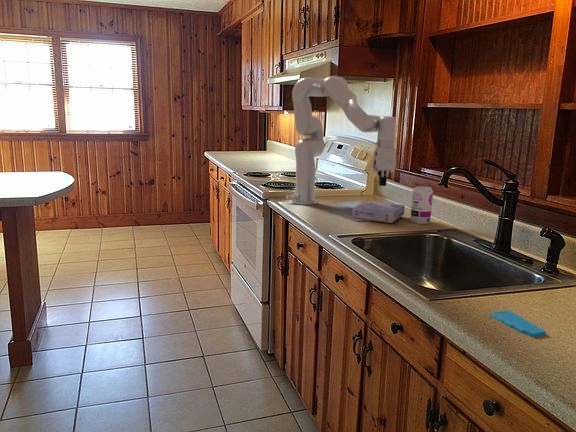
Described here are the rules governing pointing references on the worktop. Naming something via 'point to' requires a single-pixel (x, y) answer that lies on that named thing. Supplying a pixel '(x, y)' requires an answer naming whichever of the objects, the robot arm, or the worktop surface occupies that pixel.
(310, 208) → the worktop surface
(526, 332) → the sponge
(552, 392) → the worktop surface
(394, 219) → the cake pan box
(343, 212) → the mat
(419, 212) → the supplement can
